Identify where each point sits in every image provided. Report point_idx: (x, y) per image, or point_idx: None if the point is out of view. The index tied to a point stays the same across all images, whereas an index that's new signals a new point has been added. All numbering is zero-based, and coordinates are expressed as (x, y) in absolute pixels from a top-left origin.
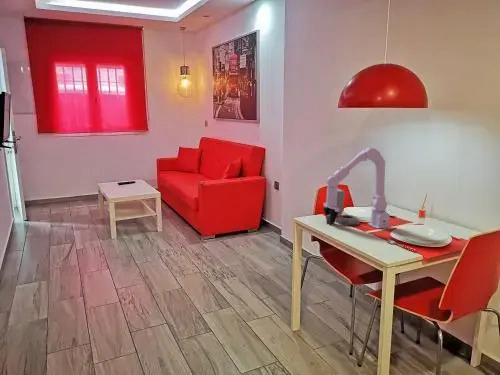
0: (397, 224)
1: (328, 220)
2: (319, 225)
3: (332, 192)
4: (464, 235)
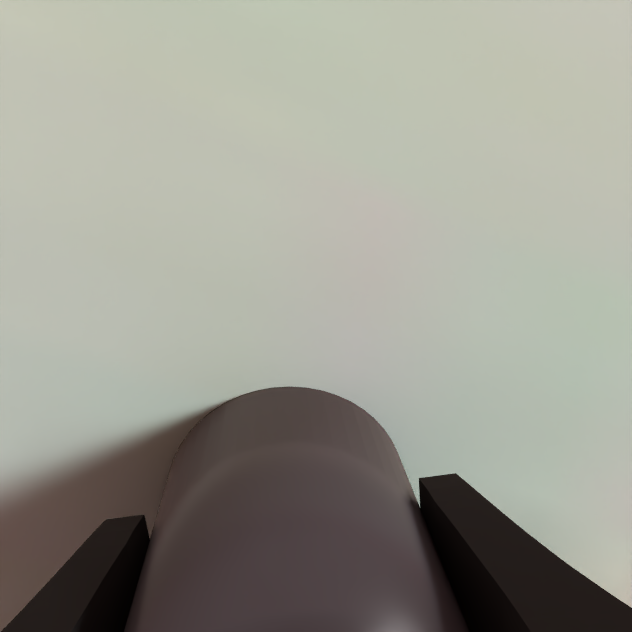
0: None
1: (197, 491)
2: (118, 64)
3: None
4: None
